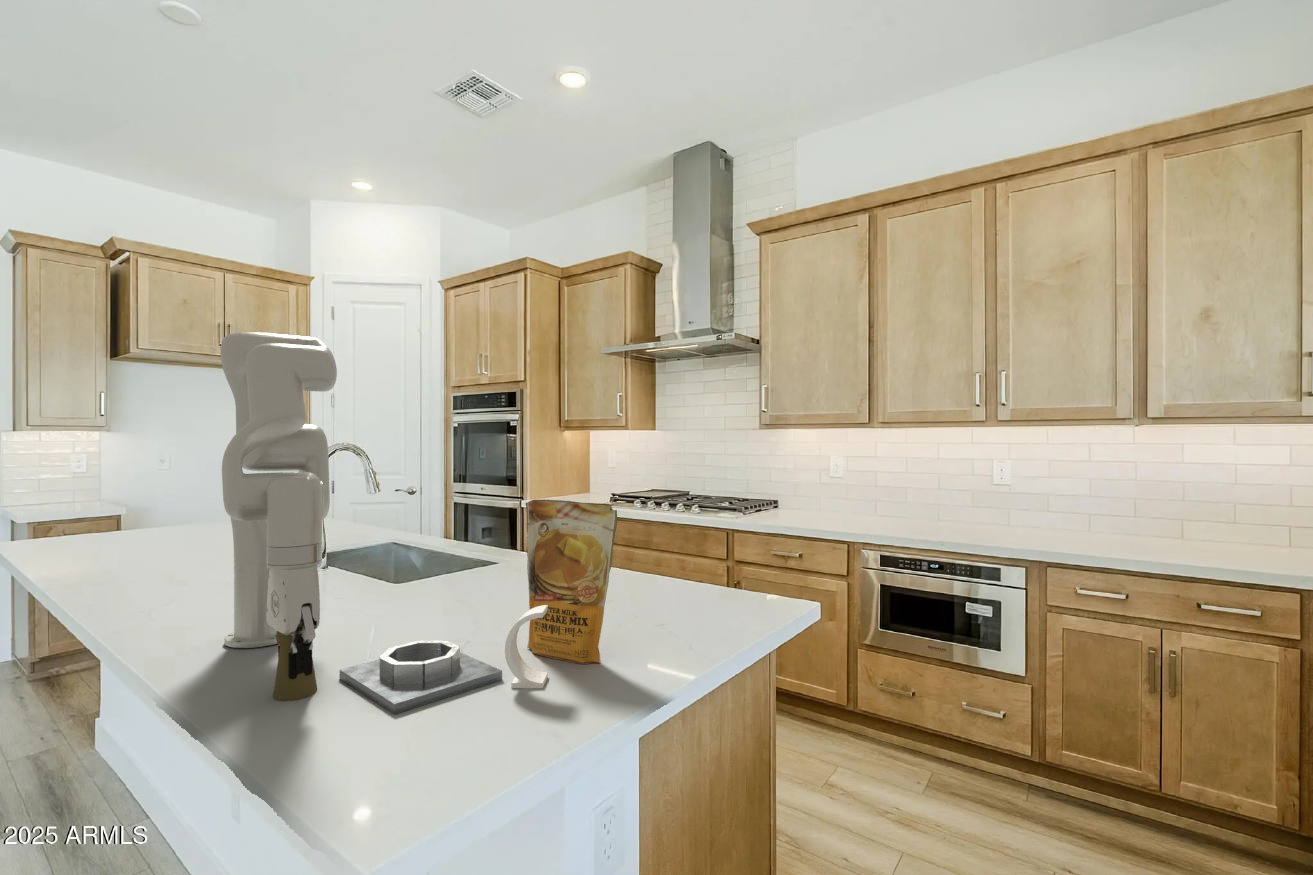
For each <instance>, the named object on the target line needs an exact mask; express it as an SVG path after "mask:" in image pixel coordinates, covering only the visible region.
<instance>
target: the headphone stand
mask: <svg viewBox="0 0 1313 875" xmlns="http://www.w3.org/2000/svg"><path fill="white" fill-rule="evenodd" d="M547 611H548V605H542V606H538V607H535V608H532V609H530V608H529V610H527V611H526V612H525V613H523V614H522V615H521V616H520V618H519V619H517V621H516V623H514V625H513V626H512V628H511V629H510V630H509V633H508V634H507V636H506V639H505V642H504V643H505V645H504V655H505V661H506V664H507V666H508V668H509V670H510V671H511V673H512V674H513V675H514V678H513V680H512V681H511V689H544V686H545V684H546V683H547V681H548V679H549V678H548V677H549V673H548V672H546V671H540V670H537V669H534V668H533V667H531V666H529V665H528V664H527V663H526V662H525V661H524V659H523V658H522V656H521V654H520V652H519V647H518V644H517V642H518V633H519V631H520V628H521V626H524V624H526V623H527V622H530V620H532V619H536V618H543V616H544V615H545V613H546V612H547Z"/></svg>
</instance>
